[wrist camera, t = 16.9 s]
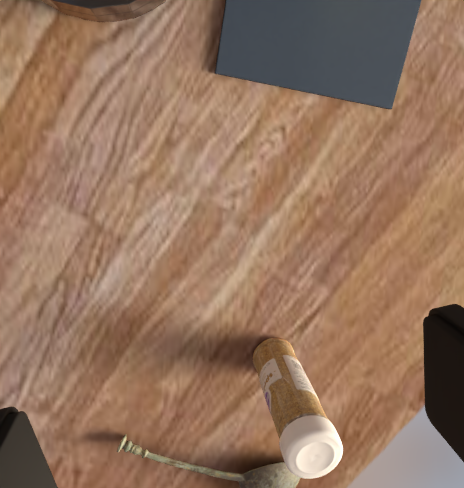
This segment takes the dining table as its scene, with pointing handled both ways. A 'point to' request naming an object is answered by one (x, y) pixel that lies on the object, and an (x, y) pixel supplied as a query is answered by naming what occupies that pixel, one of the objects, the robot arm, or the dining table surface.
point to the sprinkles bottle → (296, 412)
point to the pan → (104, 8)
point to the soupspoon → (251, 483)
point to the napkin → (319, 45)
